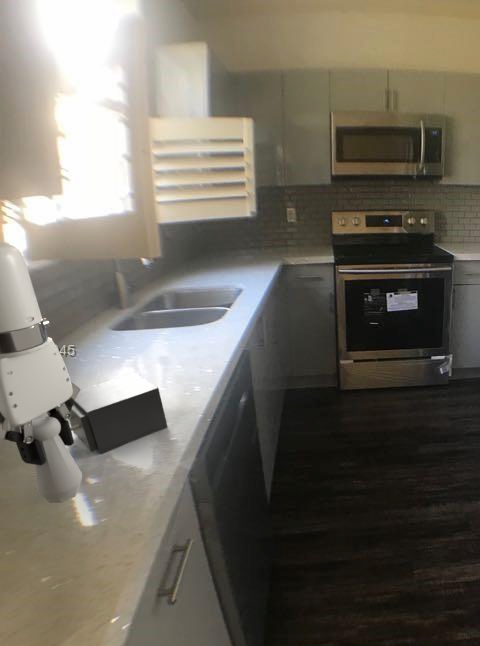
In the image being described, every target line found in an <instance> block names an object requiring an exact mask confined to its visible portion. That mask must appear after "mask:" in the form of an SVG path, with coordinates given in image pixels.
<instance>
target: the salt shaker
mask: <svg viewBox="0 0 480 646" xmlns="http://www.w3.org/2000/svg"><path fill="white" fill-rule="evenodd" d="M32 428H33V439H37V440H39V442H40V445H41V448H42V451H43V454H44V457H45V460H46V461H45V463H44V464H43V465H35V464H34V471H35V472H34V474H35V475H34V476H35V489H36V491H37V492H38V494H39V495H40V496H41V497H42V498H43V499H45V500H46V501H47V502H48V503H49V504H50V503H51V504H54V503H55V504H62V503H64V502H66V501H68V500H70V499H72V498H75V497H76V496H77V494H78V493H79V491H80V489H81V484H82V480H83V472H82V471H81V469H80V468H79V466H78V465H77V463H76V461H75V460H74V457H73V456H72V455H71V452H70V451H69V450H68V448H67V446H66V445H64V443H63V441H62V440H61V438H60V436H59V435H58V434H59V433H60V430H61V425H60V423H59V421H58V420H57V419H56V418H54V417H49V416H41V417H37V418H35V419H33V420H32Z"/></svg>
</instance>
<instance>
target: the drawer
mask: <svg viewBox="0 0 480 646" xmlns="http://www.w3.org/2000/svg"><path fill="white" fill-rule="evenodd" d="M70 414H71V418H70V420H68V422H69V425H70V429H71V432H72V434H74V435H75V436H76V437H77V438H78V439H79V441H80V442H81V443H82V444H83V445H84V446H85V447H86V448H87V449H88V451H89V452H90V453H93V452H95V451H96V450H98V449H97V446H96V443H95V439H94V436H93V433H92V430H91V426H90V423H89V420H88V417H87V414H86V413H85V412H84V411H83V410H82V409H80V408H79V407H78V406H77V405H76V404H75V403H74V404H73V406H72V409H71V411H70Z"/></svg>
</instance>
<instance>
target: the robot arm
mask: <svg viewBox="0 0 480 646" xmlns="http://www.w3.org/2000/svg"><path fill="white" fill-rule="evenodd" d="M49 327H50V321H49V320H48V319H47V318H46V317H43V316H42V313H41V309H40V307H39V302H38V299H37V296H36V293H35V289H34V286H33V282H32V278H31V276H30V272H29V269H28V266H27V263H26V258H25V256H24V253H23V252H22V250H21V248H20V247H19V246H18V245H16V244H13V243H10V242H6V241H5V242H4V241H0V440H4V441H9V442H12V443H15V445H16V447H17V450H18V452H19V455H20V458H21V460H22V461H23V462H24V463H25V464H29V465H34V466H35V465H43V464H44V463H45V461H46V460H45V457H44V454H43V451H42V448H41V445H40V442H39V440H37V439H33V428H32V420H35V419H37V418H40V416H41V417H42V415H44V414H47V417H54V418H56V419H57V420H58V421H59V423H60V425H61V430H60V433H59V434H58V435H59V436H60V438H61V440H62V441H63V443H64V445H65V446H66V447H71V446H74V444H75V441H74V437H73V431H71V429H70V427H71V425H70V421H69V420H70V418H71V414H70V411H71V409H72V406H73V404H74V400H75V399H76V397H77V395H78V394H79V392H80V389H81V388H80V387H79V386H77V385H76V384H75V383H74V382H72V380H71V377H70V375H69V371H68V369H67V367H66V364H65V361H64V359H63V357H62V354H61V352H60V350H59V348H58V347H57V344H56V343H55V342H54V340H53V338H51V337H49V335H48V332H47V329H46V328H49ZM5 421H6V424H7V429H4V428H3V427H4V422H5Z"/></svg>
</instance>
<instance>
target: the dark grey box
mask: <svg viewBox="0 0 480 646" xmlns="http://www.w3.org/2000/svg"><path fill="white" fill-rule="evenodd" d="M162 401H163V400H162V398H161V393H160V388H159V387H158V386H157V385H155V384H153V383H152V382H150V381H149V380H147V379H146V378H145V377H143V376H141V375H140V374H138V373H136V372H132V373H128V374H125V375H122V376H118V377H116V378H113V379H109V380H106V381H103V382H100V383H96V384H94V385H90V386H87V387H84V388H80V392H79V394H78V395H77V397H76V399H75V400H74V403H75V404H76V405H77V406H78V407H79V408H80V409H82V410H83V411H84V412H85V413H86V414H87V417H88V420H89V423H90V426H91V430H92V433H93V436H94V439H95V443H96V446H97V449H98V450H95V451H96V452H97V453H98V454H99V455H103V454H104V453H107V452H109V451H112V450H115V449H117V448H119V447H122V446H124V445H126V444H129V443H132V442H134V441H137V440H139V439H142V438H144V437H146V436H147V437H148V436H149V435H152V434H153V433H156V432H158V431H162V430H164V429H166V428H168V422H167V418H166V415H165V410H164V406H163V402H162Z"/></svg>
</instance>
